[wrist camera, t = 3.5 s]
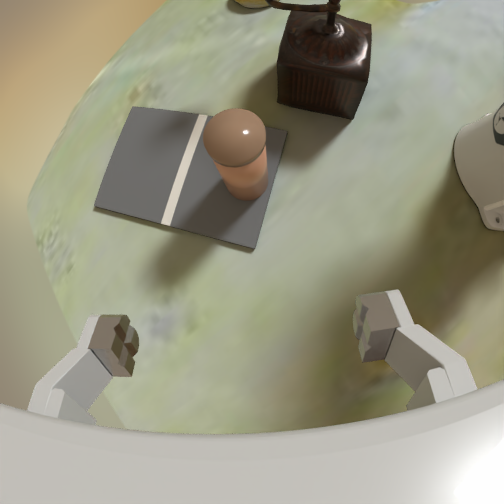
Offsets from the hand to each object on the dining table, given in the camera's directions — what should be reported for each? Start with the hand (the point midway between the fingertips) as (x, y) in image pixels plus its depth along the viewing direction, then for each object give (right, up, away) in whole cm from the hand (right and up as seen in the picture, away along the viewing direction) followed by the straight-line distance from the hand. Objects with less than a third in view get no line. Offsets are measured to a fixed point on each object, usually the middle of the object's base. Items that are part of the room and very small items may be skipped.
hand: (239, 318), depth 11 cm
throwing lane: (-8, +13, +28) cm, 31 cm away
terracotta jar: (0, +11, +26) cm, 28 cm away
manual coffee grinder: (+7, +26, +28) cm, 39 cm away
